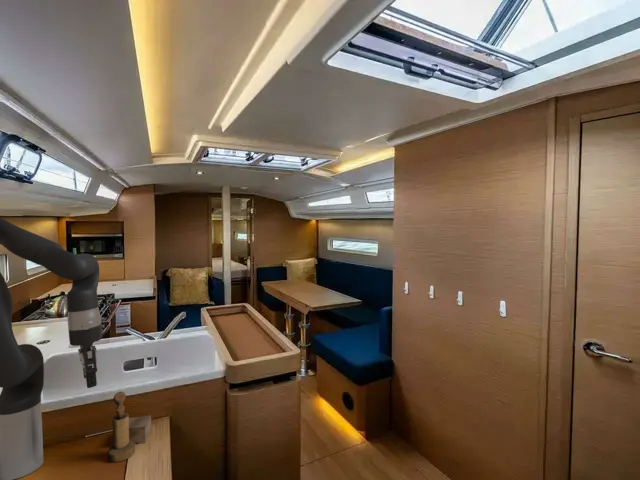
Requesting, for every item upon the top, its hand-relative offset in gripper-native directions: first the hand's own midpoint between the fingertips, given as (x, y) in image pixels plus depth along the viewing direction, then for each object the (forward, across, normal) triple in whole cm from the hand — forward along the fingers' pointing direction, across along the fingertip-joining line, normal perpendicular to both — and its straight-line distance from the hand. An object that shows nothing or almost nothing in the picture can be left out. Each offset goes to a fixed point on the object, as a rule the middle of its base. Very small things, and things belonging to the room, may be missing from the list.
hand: (90, 381), depth 94 cm
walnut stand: (+22, -3, +10) cm, 25 cm away
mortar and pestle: (+22, +3, +6) cm, 23 cm away
